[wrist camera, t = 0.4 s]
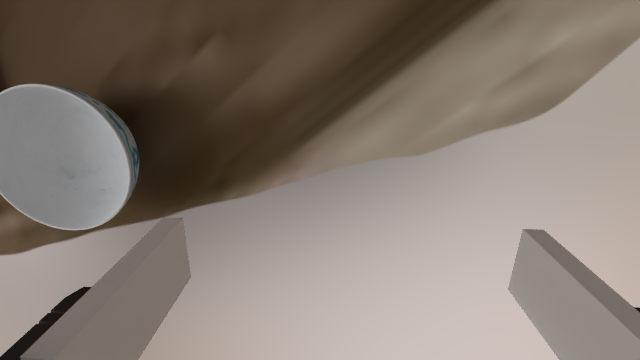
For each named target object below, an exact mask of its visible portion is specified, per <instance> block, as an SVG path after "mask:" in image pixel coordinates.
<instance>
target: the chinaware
mask: <svg viewBox="0 0 640 360" xmlns="http://www.w3.org/2000/svg"><path fill="white" fill-rule="evenodd" d="M138 174H139V154H138V149H137V145H136V142H135V140H134V138H133V136H132V134H131V132H130V130H129V129H128V127H127V126H126V124H125V123H124V122H123V120H122V119H121V118H120V117H119V116H118V115H117V114H116V113H115V112H114V111H112V110H111V109H110V108H109V107H107V106H106V105H105V104H103V103H101V102H100V101H98V100H96V99H94V98H92V97H90V96H88V95H86V94H83V93H81V92H78V91H75V90H72V89H68V88H64V87H59V86H54V85H46V84H24V85H18V86H14V87H11V88H9V89H6V90H4V91H2V92H1V93H0V194H1V195H2V196H3V197H4V198H5V199H6V200H7V201H8V202H9V203H10V204H11V205H12V206H14V207H15V208H16V209H17V210H19V211H20V212H22V213H23V214H25V215H26V216H28V217H30V218H32V219H33V220H35V221H38V222H40V223H42V224H45V225H48V226H51V227H54V228H59V229H65V230H85V229H90V228H94V227H97V226H99V225H102V224H104V223H106V222H107V221H109V220H110V219H112V218H113V217H114V216H115V215H116V214H117V213H118V212H119V211H120V210H121V209H122V208H123V206H124V205H125V204H126V202H127V201H128V199H129V198H130V196H131V194H132V192H133V190H134V188H135V185H136V182H137V178H138Z"/></svg>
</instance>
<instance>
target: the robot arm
mask: <svg viewBox="0 0 640 360" xmlns="http://www.w3.org/2000/svg"><path fill="white" fill-rule="evenodd" d="M190 278H191V275H190V267H189V260H188V253H187V246H186V239H185V231H184V225H183V218H163V219H162V220H161V221H160V222H159V223H157V224H156V225H155V226H154V227H153V228H152V229H151V230H150V231H149V232H148V233H147V234H146V235H145V236H144V237H143V238H142V239H141V240H140V241H139V242H138V243H137V244H136V245H135V246H134V247H133V248H132V249H131V250H130V251H129V252H128V253H127V254H126V255H125V256H124V257H122V258H121V259H120V260H119V261H118V262H117V263H116V264H115V265H114V266H113V267H112V268H111V269H110V270H109V271H108V272H107V273H106V274H105V275H104V276H103V277H102V278H101V279H100V280H99V281H98V282H97V283H96V284H95V285H94V286H93V287H83V288H81V289H79V290H78V291H76V292H74V293H72V294H71V295H69V296H67V297H66V298H64V299H63V300H62V301H61V302H60V303H59V304H58V305H57V306H55V307H54V309H52V310H51V313H48V314H47V315H46V316H45V317H44V318H42V319H41V320H40V321H39V324H36V325H35V326H34V327H33V328H31V330H30V331H28V332H27V333H26V334H25V335H24V336H23V337H22V338H20V339H19V340H18V341H17V342H16V343H15V344H14V345H13V346H12V347H11V348H10V349H8V350H7V351H6V352H5V353H4V354H3V355H2V356H1V357H0V360H138V359H139V357H140V356H141V354H142V353H143V351H144V350H145V348H146V346H147V345H148V343H149V342H150V340H151V339H152V337H153V335H154V334H155V332H156V331H157V329H158V328H159V326H160V325H161V323H162V321H163V320H164V318H165V317H166V315H167V314H168V312H169V310H170V309H171V307H172V306H173V304H174V303H175V301H176V300H177V298H178V296H179V295H180V293H181V292H182V290H183V288H184V287H185V285H186V284H187V282H188V281H189V279H190ZM508 290H509V291H510V292H511V294H512V295H513V297H515V299H516V301H517V302H518V303H519V305H520V306H521V307H522V309H523V310H524V312H525V313H526V314H527V316H528V317H529V319H530V320H531V321H532V323H533V324H534V326H535V327H536V328H537V330H538V331H539V332H540V334H541V335H542V336H543V338H544V339H545V341H546V342H547V343H548V345H549V346H550V348H551V349H552V350H553V352H554V353H555V354H556V356H557V357H558V359H559V360H640V308H635V307H633V306H631V305H630V304H629V303H628V302H627V301H626V300H624V299H623V298H622V297H621V296H620V295H619V294H618V293H616V292H615V291H614V290H613V289H612V288H610V287H609V286H608V285H607V284H606V283H605V282H604V281H602V280H601V279H600V278H599V277H598V276H596V275H595V274H594V273H593V272H592V271H591V270H589V269H588V268H587V267H586V266H585V265H584V264H583V263H581V262H580V261H579V260H578V259H577V258H576V257H574V256H573V255H572V254H571V253H570V252H569V251H567V250H566V249H565V248H564V247H563V246H562V245H561V244H559V243H558V242H557V241H556V240H555V239H554V238H552V237H551V236H550V235H549V234H548V233H547V232H545V231H544V230H532V229H530V230H529V229H523V231H522V235H521V239H520V244H519V247H518V251H517V255H516V259H515V264H514V267H513V271H512V276H511V280H510V284H509V288H508Z"/></svg>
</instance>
